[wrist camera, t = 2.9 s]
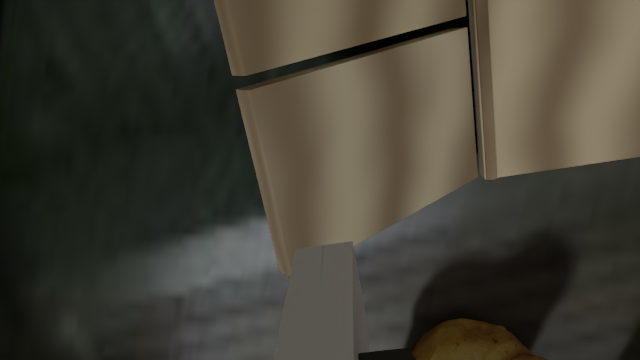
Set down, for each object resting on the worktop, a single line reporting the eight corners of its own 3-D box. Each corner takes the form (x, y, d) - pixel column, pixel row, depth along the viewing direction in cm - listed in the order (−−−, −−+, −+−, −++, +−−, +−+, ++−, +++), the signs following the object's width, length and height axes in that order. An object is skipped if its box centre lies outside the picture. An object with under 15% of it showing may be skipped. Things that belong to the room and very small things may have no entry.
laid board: (479, 172, 31) (485, 180, 29) (455, -176, 24) (461, -186, 23) (637, 149, 30) (651, 156, 28) (657, -223, 23) (676, -236, 22)
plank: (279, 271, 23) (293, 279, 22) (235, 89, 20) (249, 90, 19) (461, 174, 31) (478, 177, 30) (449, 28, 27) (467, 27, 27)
